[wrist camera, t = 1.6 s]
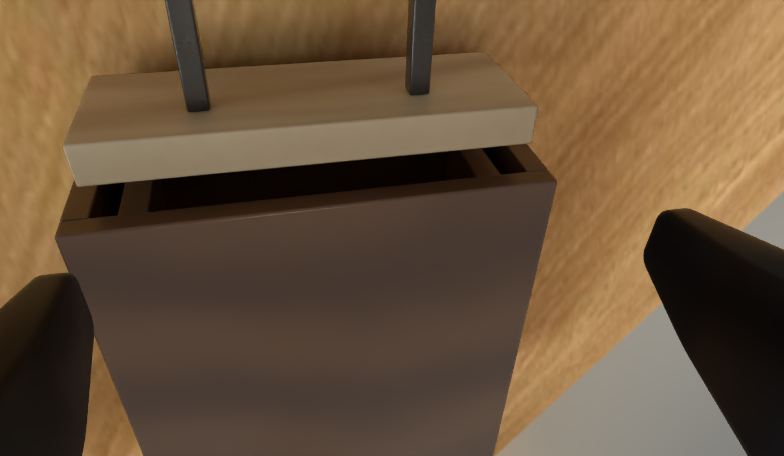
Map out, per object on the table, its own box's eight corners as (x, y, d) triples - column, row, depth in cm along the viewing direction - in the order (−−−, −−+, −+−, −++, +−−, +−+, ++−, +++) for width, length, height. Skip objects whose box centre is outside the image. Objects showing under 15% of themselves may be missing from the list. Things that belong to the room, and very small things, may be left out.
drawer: (32, -120, 14) (-23, -88, 11) (507, -120, 17) (578, -94, 13) (183, 387, 26) (178, 475, 23) (448, 343, 28) (478, 418, 25)
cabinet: (92, 125, 19) (52, 237, 14) (486, 95, 21) (558, 181, 17) (182, 415, 28) (176, 538, 24) (449, 368, 31) (490, 471, 26)
